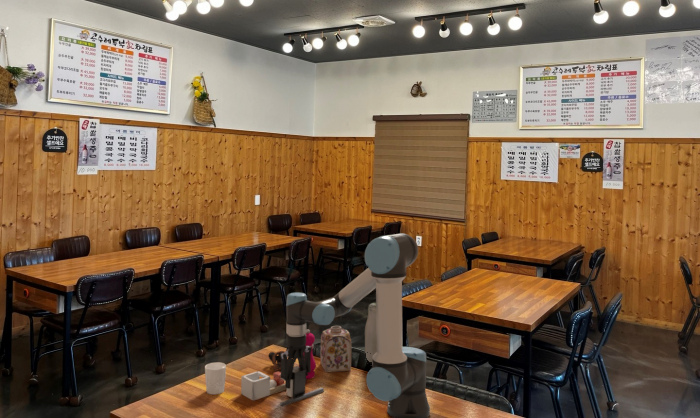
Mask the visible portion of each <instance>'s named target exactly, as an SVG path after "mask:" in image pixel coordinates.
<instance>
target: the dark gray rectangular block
mask: <svg viewBox="0 0 700 418" xmlns="http://www.w3.org/2000/svg"><path fill="white" fill-rule="evenodd" d="M272 379H273V380H275V381H276V383H277V386H279V385H282V384H285V380H284V379H282V378H281V371H278V370H277V371H274V372H273V378H272ZM291 379H292V380H293V397H291V398H294V397H297V396H300V395H302V394H305V393H306V383H305V369H303V368H300V367H299V365H296V366H294V367H293V372H292V377H291Z"/></svg>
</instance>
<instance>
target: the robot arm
mask: <svg viewBox="0 0 700 418" xmlns="http://www.w3.org/2000/svg"><path fill="white" fill-rule="evenodd" d="M418 256H419V246H418V243H417V242H416V240H415V238H413V236H412V235H409V234H406V233H396V234H395V233H393V234H387V235H381V236H379V237H376V238H374V239H372V240H371V241H370V242H369V243H368V244H367V246H366V248H365V250H364V262H365V264H366V266H367V267H368V268H366V269H365V270H364V271H363V272H361V273H360V274H359V275H358V276H357V277H355V278H354V279H353V280H352V281H350V282H349V283H348V284H347V285H346V286H345V287H343V288H342V289H341V290H340V291H339V292H338V293H337V294H335V295H334V296H332V297H329V298H327V299H324V300H320V301H312V300H311V301H310V300H308V298H307V297H308V296H307V295H306V293H304V292H291V293H288V294H287V296H286V304H285V307H286V309H285V311H286V323H285V324H286V326H285V327H286V329H285V330H286V338H285V339H286V340H285V343H286V349H285V350H284V351H285V352H284V353H280V357H281V369H280V372H281V378H282V379H284V380H285V381H284V384H285V386H286V388H287V389H286V396H287V397H290V398H292V397H293V380H292V379H291V377H292V372H293V367H295V363H296V361H297V362H298V367H300V368H303V369H305V384H306V383H307V379H306V376H308V372H310V371H311V350H312V351H313V349H312V348H311V347H309V346H306V345H305V344H306V330H307V322H308V323H313V324H316V325H320V326H328V325H330V324H331V323H332V322H333V321H334V320H335V318H338V317H340V316H345V315H346V314H348V313H349V312H351V311H352V309H353V307H354V306H356V304H358V303H359V302H360V301H362V299H363V298H365V297H367V296H368V295H369V294H370V293H371V292H372V291H374V290H375V291H376V292H375V299H376V300H375V303H376V322H377V352H376V353H375V354H374V355H373V357H372V365H371V366H372V367H371V368H370V370H369V371H368V372H367V374H366V380H365V381H366V386H367V388H368V390H369V392H370V393H372V395H373V396H374V397H375V398H376V399H378V400H380V401H383V402H388V403H387V410H386V411H387V414H388V415H389V416H390V417H392V418H429V417H430V415H431V407H430V404H429V400H428V396H427V392H426V384H427V383H426V381H427V380H426V379H427V353H426V351H424V350H422V349H420V348H416V347H412V346H411V347H410V346H403V285H402V283H403V280H405V278H406V277H407V267H410V266H411V265H412V264H414V263H415V261H416V260H417V259H418ZM303 353H304V354H303ZM287 355H288V356H287ZM291 358H292V359H291ZM287 359H288V360H287Z"/></svg>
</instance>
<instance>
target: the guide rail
mask: <svg viewBox="0 0 700 418" xmlns="http://www.w3.org/2000/svg"><path fill="white" fill-rule="evenodd" d="M324 390H325V389H324V388H323V387H319V388H317V389H314V390H311V391H308V392H305V394H302V395H300V396H297V397H294V398H292V397H290V398H289V399H287V400H283V401H280V402H279V405H280V407H282V408H283V407H285V406H288V405H290V404H293V403H297V402H299V401H301V400H304V399H307V398H309V397H313V396H315V395H318V394H322V393H324Z"/></svg>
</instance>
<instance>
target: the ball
mask: <svg viewBox="0 0 700 418" xmlns="http://www.w3.org/2000/svg"><path fill="white" fill-rule="evenodd" d="M276 386H277V383H276V381H275V380H271V379H270V388H273V387H276Z"/></svg>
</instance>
